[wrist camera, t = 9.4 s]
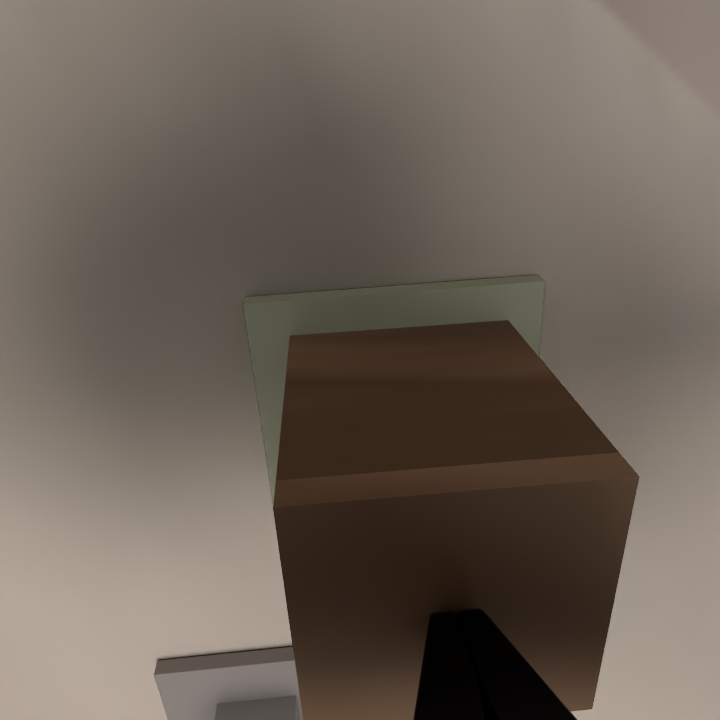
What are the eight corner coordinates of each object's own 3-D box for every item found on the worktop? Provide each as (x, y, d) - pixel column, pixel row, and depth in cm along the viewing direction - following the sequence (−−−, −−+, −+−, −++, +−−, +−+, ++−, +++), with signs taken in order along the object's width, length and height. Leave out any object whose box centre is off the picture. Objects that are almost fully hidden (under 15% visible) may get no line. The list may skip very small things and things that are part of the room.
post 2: (537, 274, 14) (683, 396, 8) (519, 505, 17) (616, 703, 11) (245, 297, 13) (199, 437, 8) (279, 527, 16) (263, 741, 11)
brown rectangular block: (496, 494, 16) (592, 709, 10) (308, 510, 16) (305, 739, 10) (508, 320, 14) (639, 476, 8) (289, 335, 13) (273, 507, 8)
